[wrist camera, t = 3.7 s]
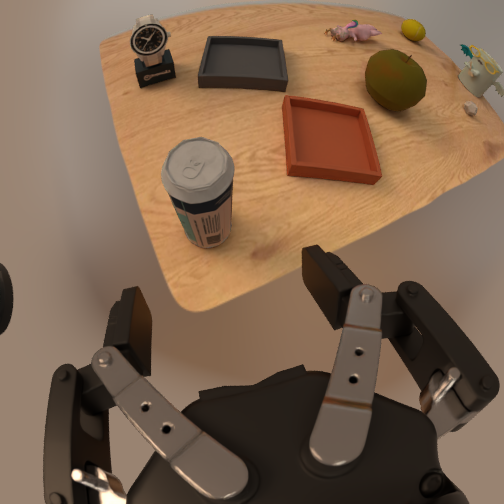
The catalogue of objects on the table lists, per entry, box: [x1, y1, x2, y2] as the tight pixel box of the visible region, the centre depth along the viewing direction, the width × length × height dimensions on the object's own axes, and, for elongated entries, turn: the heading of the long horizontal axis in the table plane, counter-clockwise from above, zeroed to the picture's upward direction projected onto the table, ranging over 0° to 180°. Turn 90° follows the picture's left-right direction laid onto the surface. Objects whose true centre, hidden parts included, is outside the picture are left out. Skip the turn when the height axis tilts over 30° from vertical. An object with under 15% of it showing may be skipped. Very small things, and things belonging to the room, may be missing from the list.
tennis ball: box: [401, 19, 426, 41], centre depth 43 cm, size 7×7×7 cm
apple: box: [365, 49, 427, 111], centre depth 30 cm, size 10×10×11 cm
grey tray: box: [198, 36, 288, 92], centre depth 33 cm, size 12×12×2 cm
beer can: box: [161, 137, 234, 248], centre depth 21 cm, size 5×5×12 cm
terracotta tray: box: [282, 95, 382, 185], centre depth 30 cm, size 11×11×2 cm
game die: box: [464, 101, 477, 116], centre depth 38 cm, size 4×4×3 cm
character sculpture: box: [458, 45, 504, 98], centre depth 38 cm, size 20×12×13 cm, turn 19°
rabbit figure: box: [324, 20, 382, 41], centre depth 38 cm, size 6×6×15 cm
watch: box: [130, 15, 176, 88], centre depth 27 cm, size 6×8×11 cm
